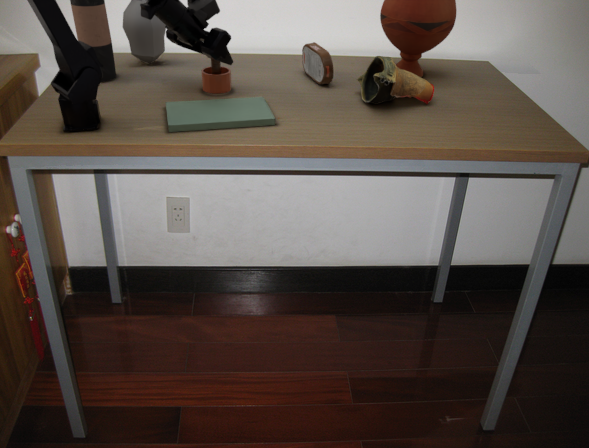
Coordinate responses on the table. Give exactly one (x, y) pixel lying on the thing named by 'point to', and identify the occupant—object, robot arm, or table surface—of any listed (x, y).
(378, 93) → the pot
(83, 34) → the travel mug
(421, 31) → the goblet
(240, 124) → the board
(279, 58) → the table surface
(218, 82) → the cup
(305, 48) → the tin
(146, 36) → the grey tall faceted solid
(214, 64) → the stirrer
